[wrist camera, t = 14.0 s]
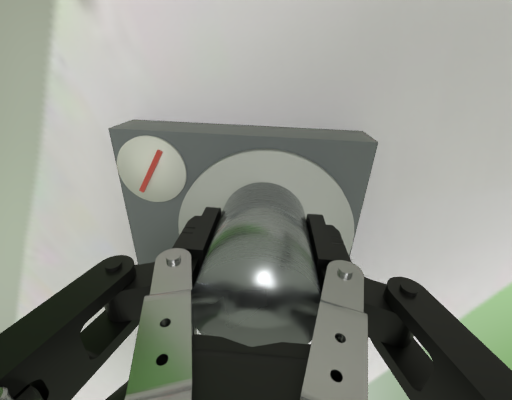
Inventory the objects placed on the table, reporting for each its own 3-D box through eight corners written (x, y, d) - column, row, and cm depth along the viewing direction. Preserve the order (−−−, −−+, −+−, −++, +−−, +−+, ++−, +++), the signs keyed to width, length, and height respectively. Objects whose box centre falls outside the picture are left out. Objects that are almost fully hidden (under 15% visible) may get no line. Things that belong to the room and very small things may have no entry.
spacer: (302, 177, 13) (322, 255, 7) (307, 250, 14) (326, 355, 9) (214, 186, 13) (172, 265, 8) (230, 256, 15) (205, 358, 10)
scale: (362, 131, 18) (384, 146, 14) (330, 276, 24) (340, 313, 20) (133, 119, 18) (98, 131, 15) (158, 263, 24) (137, 296, 21)
